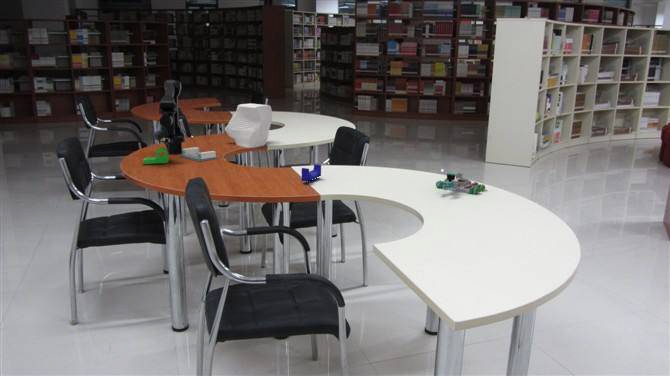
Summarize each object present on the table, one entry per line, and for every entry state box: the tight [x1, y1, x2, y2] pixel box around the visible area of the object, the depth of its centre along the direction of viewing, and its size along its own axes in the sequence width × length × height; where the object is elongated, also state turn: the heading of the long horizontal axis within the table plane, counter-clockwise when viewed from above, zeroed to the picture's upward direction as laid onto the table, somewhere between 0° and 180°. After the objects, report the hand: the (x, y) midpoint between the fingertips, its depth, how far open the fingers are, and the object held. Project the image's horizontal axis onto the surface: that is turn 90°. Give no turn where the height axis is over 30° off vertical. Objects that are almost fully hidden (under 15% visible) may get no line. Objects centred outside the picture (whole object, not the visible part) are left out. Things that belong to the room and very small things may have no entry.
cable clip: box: [301, 163, 322, 183], centre depth 251 cm, size 12×4×6 cm, turn 150°
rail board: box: [179, 146, 219, 163], centre depth 295 cm, size 18×12×4 cm, turn 47°
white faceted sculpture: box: [224, 103, 273, 149], centre depth 330 cm, size 21×27×26 cm
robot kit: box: [435, 172, 486, 196], centre depth 230 cm, size 19×25×9 cm
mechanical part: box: [142, 146, 169, 165], centre depth 282 cm, size 12×6×8 cm, turn 105°
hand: (170, 154), depth 284 cm, fingers closed
